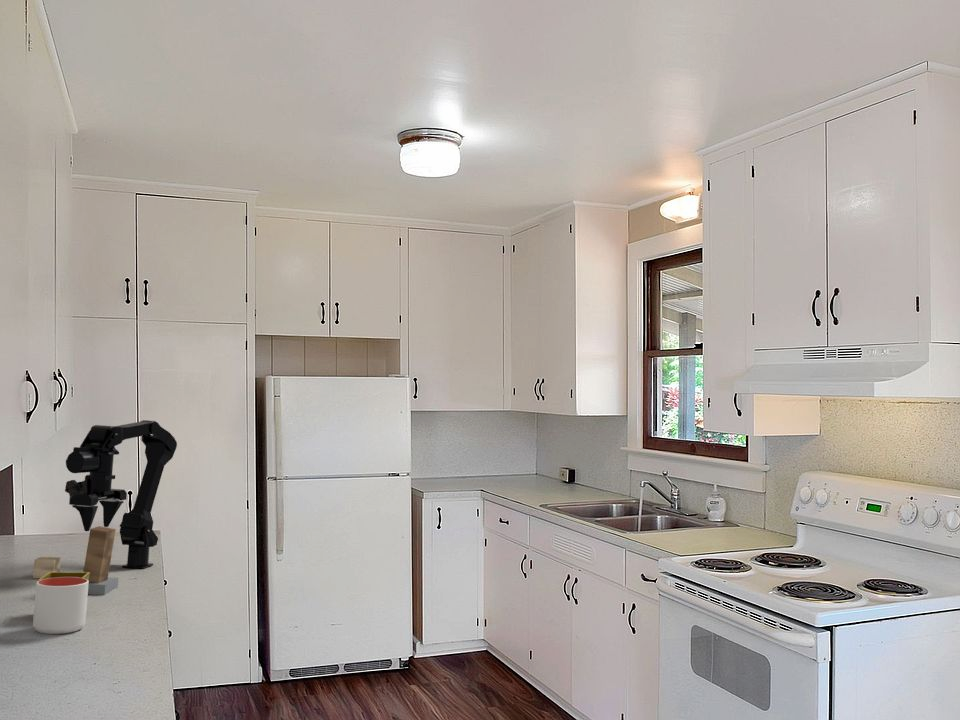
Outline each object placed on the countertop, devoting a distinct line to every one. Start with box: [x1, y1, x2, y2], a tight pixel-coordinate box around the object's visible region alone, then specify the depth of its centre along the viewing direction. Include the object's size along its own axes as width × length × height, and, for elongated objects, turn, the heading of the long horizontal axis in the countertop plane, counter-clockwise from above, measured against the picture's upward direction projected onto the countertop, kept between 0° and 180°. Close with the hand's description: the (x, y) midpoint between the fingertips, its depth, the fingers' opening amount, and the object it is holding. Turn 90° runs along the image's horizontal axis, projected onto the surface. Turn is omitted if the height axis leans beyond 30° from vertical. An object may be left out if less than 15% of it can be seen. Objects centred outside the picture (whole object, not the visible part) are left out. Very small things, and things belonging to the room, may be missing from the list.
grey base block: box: [88, 576, 119, 596], centre depth 219 cm, size 9×9×3 cm
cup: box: [32, 577, 89, 635], centre depth 183 cm, size 10×10×10 cm
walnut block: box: [82, 526, 117, 583], centre depth 219 cm, size 4×4×13 cm
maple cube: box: [32, 556, 62, 579], centre depth 233 cm, size 5×5×5 cm
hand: (96, 528), depth 236 cm, fingers open, 9 cm apart
